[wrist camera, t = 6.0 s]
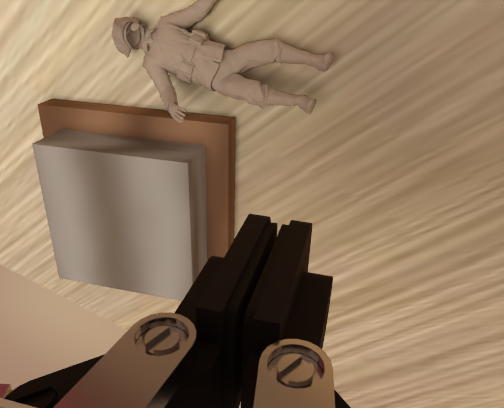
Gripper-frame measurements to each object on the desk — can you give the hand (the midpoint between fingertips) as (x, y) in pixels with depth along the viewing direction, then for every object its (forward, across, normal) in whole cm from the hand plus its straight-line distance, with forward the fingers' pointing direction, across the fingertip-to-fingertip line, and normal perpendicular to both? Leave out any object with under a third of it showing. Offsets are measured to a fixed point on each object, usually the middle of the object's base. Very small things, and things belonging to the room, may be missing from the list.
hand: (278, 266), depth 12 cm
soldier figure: (+16, +1, 0) cm, 16 cm away
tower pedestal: (+17, +13, +8) cm, 23 cm away
